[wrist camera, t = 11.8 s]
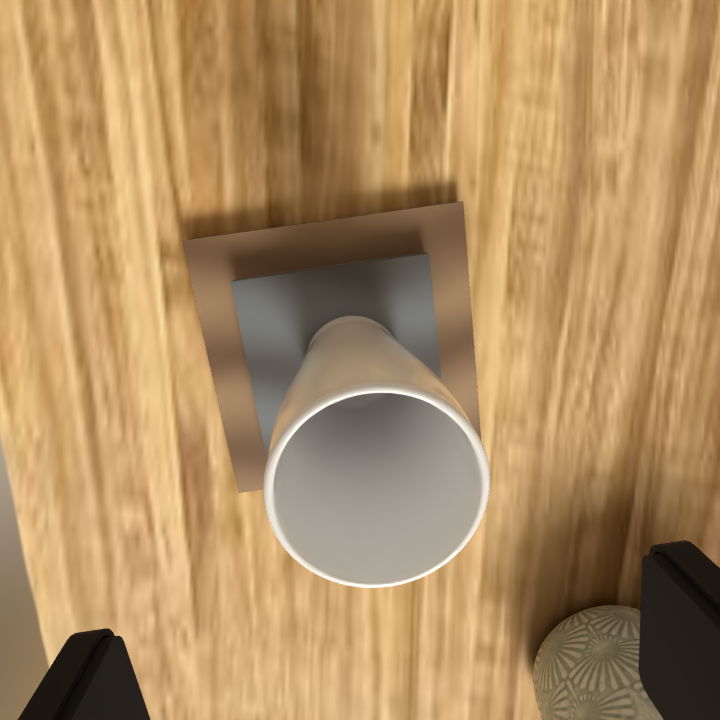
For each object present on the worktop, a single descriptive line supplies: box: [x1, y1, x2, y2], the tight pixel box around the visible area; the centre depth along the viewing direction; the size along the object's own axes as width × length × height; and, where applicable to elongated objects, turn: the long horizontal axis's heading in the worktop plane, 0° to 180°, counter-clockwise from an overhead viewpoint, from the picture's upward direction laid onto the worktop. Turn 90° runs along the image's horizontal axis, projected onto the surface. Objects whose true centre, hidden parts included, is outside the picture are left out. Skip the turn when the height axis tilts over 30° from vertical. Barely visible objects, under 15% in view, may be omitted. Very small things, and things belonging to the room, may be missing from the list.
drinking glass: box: [263, 316, 490, 588], centre depth 22 cm, size 7×7×15 cm
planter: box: [533, 605, 663, 720], centre depth 34 cm, size 12×12×11 cm
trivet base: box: [182, 201, 481, 493], centre depth 30 cm, size 16×16×3 cm
